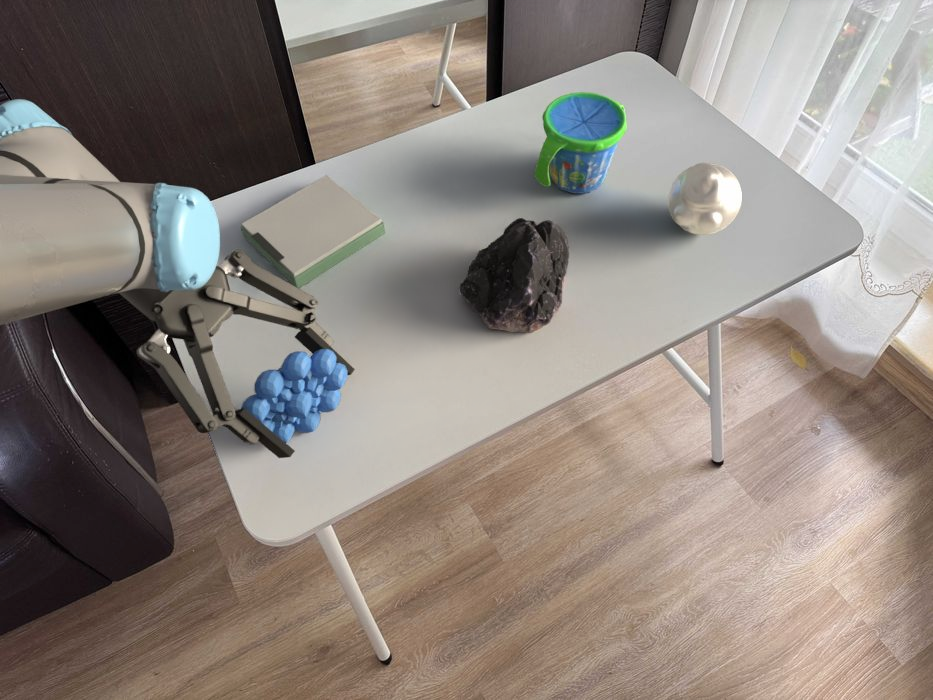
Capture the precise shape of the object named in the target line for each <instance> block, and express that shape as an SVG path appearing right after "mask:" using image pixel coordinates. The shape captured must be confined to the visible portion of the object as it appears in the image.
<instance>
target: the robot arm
mask: <svg viewBox="0 0 933 700" xmlns="http://www.w3.org/2000/svg"><path fill="white" fill-rule="evenodd" d="M220 234H221V233H220V224H219V220H218V215H217V212H216V209H215V207H214V205H213V203H212V201H211V200H210V198H209V197H208V196H207V195H206V194H204V192H202V191H200V190H199V189H197V188H194V187H190V186H189V187H188V186H180V185H172V184H171V185H169V184H167V183H165V182H156V183H144V182H143V183H142V182H141V183H140V182H128V181H127V182H126V181H120V180H119V179H118V178H117V177H116V176H115V175H114V174H113V173H112V172H110V171H109V169H108V168H107V167H106V166H105V165H103V164H102V163H101V162H100V161H99V160H98V159H97V158H96V156H94V155H93V154H92V153H91V152H90V151H89V150H88V149H87V148H86V147H85V146H84V145H82V143H80V141H79V140H78V139H76V138H75V137H74V136H73V134H72V132H71V131H70V130H69V129H68V128H67V127H65V126H63V125H61V124H59V122H57V121H56V120H55V119H53V118H52V117H51V116H50V115H49V114H48V113H46V112H45V111H44V110H43V109H41V107H39V106H38V105H36V104H35V103H34V102H32V101H30V100H27V99H21V98H17V99H16V98H15V99H11V100H8V101H6V102H4V103H1V104H0V326H3V325H6V324H9V323H13V322H17V321H20V320H25V319H28V318H32V317H35V316H39V315H42V314H45V313H49V312H53V311H56V310H60V309H64V308H67V307H68V308H69V307H72V306H76V305H78V304H82V303H86V302H88V301H93V300H97V299H101V298H104V297H108V296H112V295H115V294H119V295H120V296H122V297H123V298H124V299H125V300H126V301H127V302H129V303H130V304H131V305H132V306H133V307H134V308H135V309H137V310H138V311H139V312H140V313H141V314H142V315H144V316H145V317H147V318H148V319H149V320H150V321H151V323H152V325H153V327H154V330H155V331H154V332H153V334H152V335H151V336H150V337H149V338H148V339H147V341H146V342H145V343H143V344H141V345H140V346H139V347H138V348H136V354H137V355H136V356H137V357H139V359H141V360H143V361H144V362H145V363H146V364H148V365H149V366H150V367H152V368H154V370H155V371H156V372H157V374H158V375H159V377H160V378H161V380H162V381H163V383H164V384H165V385H166V387H167V388H168V390H169V391H170V393H171V394H172V395H173V397H174V399H175V400H176V401H177V403H178V404H179V406H180V407H181V409H182V410H183V412H184V413H185V415H186V416H187V418H188V419H189V421H190V422H191V423H192V424H193V426H194V428H195V430H196V431H197V432H198V433H200V434H207V433H211V432H214V431H216V430H217V429H218V428H220V427H225V428H226V429H227V430H228V431H230V432H231V433H232V434H233V435H234V436H236V437H238V439H239V440H241V441H242V442H243V443H244V444H247V445H255V444H257V442H259V444H261V445H262V446H263V447H265V448H266V449H267V450H268V451H270V452H271V453H272V454H273V455H274V456H276V457H277V458H278V459H285V458H291V457H292V456H293V454H294V453H295V451H296V450H295V449H294V448H292V447H291V446H290V445H289V444H288V443H285V442H284V441H283V440H281V439H280V438H279V437H278V436H277V435H276V434H274V433H273V432H272V431H271V430H270V429H268V428H267V427H266V426H265V425H264V424H263V423H261V422H260V421H259V420H258V419H257V418H255V417H254V416H253V415H252V414H251V413H249V412H248V411H247V410H246V409H245V408H242V409H241V408H238V409H235V407H234V404H233V402H232V398H231V397H230V393H229V390H228V388H227V385H226V383H225V380H224V377H223V375H222V372H221V368H220V366H219V364H218V361H217V358H216V355H215V353H214V350H213V349H214V345H213V342H212V339H211V338H213V337H214V336H215V335H216V334H217V333H218V331H219V330H220V328H221V326H222V324H223V323H224V322H226V321H227V320H229V319H230V318H231V317H232V316H233V315H236V316H237V315H240V316H244V317H247V318H252V319H255V320H259V321H264V322H268V323H272V324H275V325H280V326H283V327H287V328H292V329H295V330H299V331H298V332H297V333H296V334H295V336H294V338H295V339H296V340H297V341H298V342H299V343H300V344H301V345H303V346H304V347H305V349H307V350H308V351H309V352H310V353H311V355H312V354H313V353H314V352H315V351H318V350H320V349H329V350H331V351H333V352H334V354H335V355H336V357H337V358H336V363H341V364H343V365H345V367H346V369H347V370H348V375H347V377H348V376H351V375H352V374H353V372H354V371H356V370H355V368H354V367H353V365H351V364H350V363H349V362H348V361H347V360H345V358H344V357H343V356H341V354H339V353H338V351H336V349H334V348H333V347H332V345H333V344H334V343H335V341H334V338H333V337H332V336H331V335H330V334H328V332H327V331H325V330H324V329H323V328H322V326H320V325H319V323H317V315H316V314H315V309H316V308H318V306H319V301H318V299H317V298H316V297H315V296H314V295H312V294H310V293H308V292H306V291H304V290H303V289H301V288H297V287H296V286H295V285H294V284H293V283H291V282H288V281H286V280H284V279H283V278H281V277H279V276H277V275H275V274H274V273H272V272H270V271H269V270H266V269H265V268H263V267H262V266H259V265H258V264H256V263H255V262H254V260H252V259H251V258H250V257H249V256H248V255H247V254H246V253H245V251H244V250H242V249H239V248H237V249H234V250H233V251H231V252H230V253H229V254H228V255H226V256H225V257H224V259H223V261H222V262H221V263H220V264H219V265H217V264H218V261H219V256H220V250H221V249H220V247H221V235H220ZM228 276H229V277H231V278H233V279H240V280H241V281H243V282H244V283H246V284H248V285H249V286H251V287H253V288H255V289H257V290H259V291H261V292H263V293H265V294H266V295H269V296H270V297H272V298H274V299H276V300H278V301H280V302H281V303H283V304H285V305H286V306H288V307H286V306H282V305H279V304H276V303H271V302H268V301H264V300H260V299H256V298H253V297H250V296H249V295H247V294H244V293H240V292H236V291H232V290H231V288H230V283H229V280H228ZM290 307H291V308H290ZM167 338H168V339H177V340H183V342H184V346H185V348H186V350H187V354H188V356H189V357H191V360H192V361H193V364H194V368H195V369H196V372H197V375H198V378H199V381H200V383H201V385H202V388H203V391H204V393H205V396H206V399H207V402H208V404H209V407H208V405H206V403H205V401H204V400H203V398H202V397H201V395H200V393H199V392H198V391H197V390H196V388H195V386H194V384H192V382H191V381H190V378H188V376H187V375H186V373H185V372H184V371H183V369H182V367H181V366H180V365H179V363H178V362H177V360H176V359H175V358H174V356H173V355H172V354H171V346H170V345H169V343H168V342H167Z"/></svg>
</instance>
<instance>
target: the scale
mask: <svg viewBox="0 0 933 700" xmlns="http://www.w3.org/2000/svg"><path fill="white" fill-rule="evenodd" d="M240 230H241V233H242V235H243V237H244V238H245V239H246V240H247V241H248V242H249V243H250V244H251V245H252V246H253V247H254V248H255V249H256V250H257V251H258V252H259V253H260V254H261V255H262V256H263V257H265V259H266V260H268V261H269V262H270V264H271V265H272V266H273V267H275V268H276V269H277V270H278V271H279V272H280V273H281V274H282V275H283V276H284V277H285V278H286V279H287V280H288V281H289V283H291V284H292V285H294V286H295V287H297V288H299V289H301V288H302V287H303V286H305V285H306V284H308V283H309V282H311V281H312V280H314V279H315V278H318V277H319V276H320V275H322V274H324V273H325V272H326V271H328V270H330V269H331V268H333V267H335V266H336V265H337V264H339V263H341V262H342V261H344V260H346V259H348V257H351V256H352V255H353V254H356V252H358V251H360V250H361V249H363V248H365V247H367V245H370V244H371V243H372V242H374V241H375V240H377V239H378V238H381V236H384V235H385V234H386V227H385V223H384V222H383V221H382V219H381V218H380V217H379V216H377V215H376V214H375V213H374V212H372V211H371V210H370V209H369V208H367V207H366V206H365V205H364V204H363V203H362V202H360V201H359V200H358V199H357V198H355V197H354V196H353V195H352V194H350V193H349V192H348V191H347V190H345V189H344V188H343V187H342V186H341V185H340V184H338V183H337V182H336V181H335V180H333V179H332V178H331V177H330V176H329V175H327V174H326V175H324V176H322V177H321V178H319V179H317V180H315V181H313V182H312V183H310V184H308V185H307V186H305V187H303V188H302V189H299V190H298V191H295V192H294V193H292V194H291V195H289V196H287V197H286V198H284V199H282V200H281V201H279V202H276V203H275V204H273V205H271V206H270V207H268V208H266V209H265V210H263V211H261V212H259V213H258V214H256V215H254V216H253V217H250V218H249V219H248V220H247V219H246V220H245V221H244V222H242V223H241V226H240Z"/></svg>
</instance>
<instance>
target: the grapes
mask: <svg viewBox="0 0 933 700" xmlns="http://www.w3.org/2000/svg"><path fill="white" fill-rule="evenodd" d="M336 358H337V357H336V355H335V354H334V352H333V351H331V350H329V349H320V350H318V351H315V352H314V353H313V354H312V353H311V355H310V354H309V353H308V352H305V351H302V350H297V351H293V352H290V353H289V354H288V355H287V356H286V357H284V359H283V361H282V364H281V367H278V368H277V369H267V370H265V371H262V372H260V374H259V375H258V376H257V377H256V380H255V381H254V389H253V391H254V393H255V394H251V395H249V396H248V397H246V398H245V400H244V401H243V402H242V404H241V407H240V409H242V408H245V409H246V410H247V411H248V412H249V413H251V414H252V415H253V416H254V417H255V418H257V419H258V420H259V421H260V422H261V423H263V424H264V425H265V426H266V427H267V428H268V429H270V430H271V431H272V432H273V433H274V434H276V435H277V436H278V437H279V438H280V439H281V440H283V441H284V442H285V443H286V444H288V443H289V442H290V440H291V439H292V438H293V436H294V434H295V432H296V431H297V432H299V433H301V434H309V433H313V432H314V431H315V430H316V429H317V428H318V426H319V424H320V423H321V413H330V412H331V413H332V412H334V411H335V410H336V409H337V407H338V406H339V404H340V402H341V400H342V392H341V390H340V389H342V388H343V387H344V386H345V384H346V381H347V379H348V376H349V375H348V370H347V369H346V367H345V365H343V364H341V363H336ZM347 375H348V376H347Z"/></svg>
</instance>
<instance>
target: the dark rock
mask: <svg viewBox="0 0 933 700" xmlns="http://www.w3.org/2000/svg"><path fill="white" fill-rule="evenodd" d="M569 259H570V242H569V238H568V235H567V234H565V231H564V229H563V228H562V227H561V225H559V224H558V223H557V222H555V221H553V220H551V219H547V220H543V221H542V222H541V221H540V222H539V223H538V224H537V223H536V221H535V220H529V219H528V220H527V219H525V218H524V217H518V218H516V219H515V220H513V221H512V222H511V223H510V224H509V225H508V226H507V227H505V228H504V231H503V233H502V234H501V235H500V236H499V237H497V238H496V239H495V240H494V241H492V242H490V243H489V244H488V246H487V247H485V248H481V250H478V252H477V254H476V256H475V258H474V259H472V260H471V263H470V264H469V265H468V269H467V274H466V275H467V276H466V277H464V278H465V279H464V280H463V281H462V282H461V283H460V286H459V294H460V295H461V296H462V297H463V298H464V300H465V301H466V302H467V303H468V304H469V305H470V307H471V308H472V309H473V311H475V312H476V313H477V314H478V315H480V316H481V319H482V321H483V322H484V323H485V325H486V327H487V328H488V329H491V330H492V329H493V330H499V331H506V332H510V333H517V332H523V333H529V334H532V333H534V332H536V331H538V330H541V328H543V327H544V326H547V325H548V324H550V323H551V321H552V319H553V317H554V316H555V315H556V314H557V313H558V311H559V308H561V307H562V304H563V294H564V293H565V287H566V278H567V271H568V265H569Z"/></svg>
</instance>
